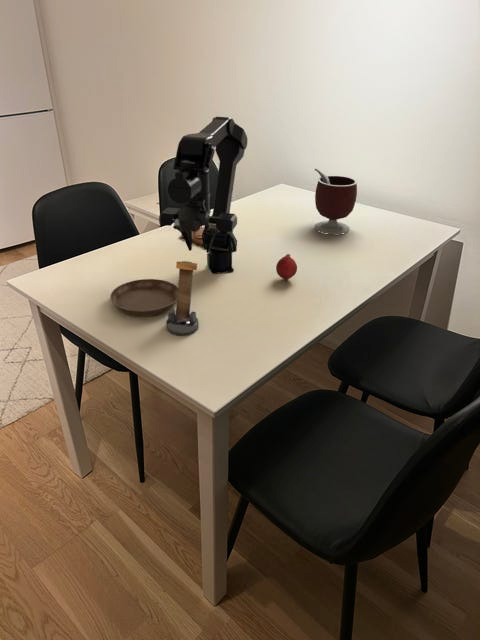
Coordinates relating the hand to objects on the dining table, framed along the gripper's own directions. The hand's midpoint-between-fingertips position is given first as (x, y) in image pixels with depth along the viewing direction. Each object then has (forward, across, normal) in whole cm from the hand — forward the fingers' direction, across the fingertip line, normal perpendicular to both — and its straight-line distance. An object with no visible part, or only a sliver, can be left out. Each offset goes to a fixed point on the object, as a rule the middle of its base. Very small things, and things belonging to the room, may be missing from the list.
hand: (199, 251), depth 127 cm
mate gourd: (+12, +30, +58) cm, 66 cm away
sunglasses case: (+13, -10, +34) cm, 38 cm away
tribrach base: (+12, +1, -18) cm, 21 cm away
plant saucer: (+12, -12, -9) cm, 19 cm away
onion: (+12, +21, +13) cm, 28 cm away
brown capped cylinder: (+10, +1, -18) cm, 20 cm away
